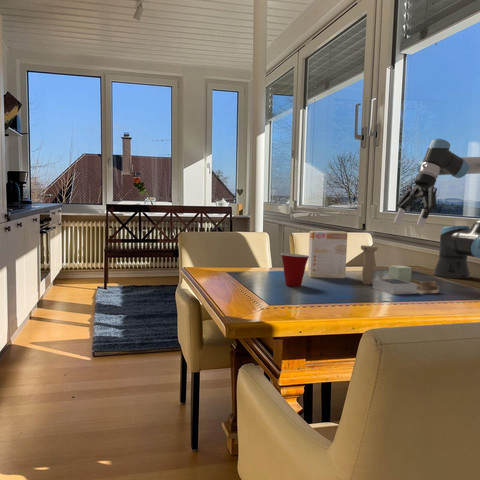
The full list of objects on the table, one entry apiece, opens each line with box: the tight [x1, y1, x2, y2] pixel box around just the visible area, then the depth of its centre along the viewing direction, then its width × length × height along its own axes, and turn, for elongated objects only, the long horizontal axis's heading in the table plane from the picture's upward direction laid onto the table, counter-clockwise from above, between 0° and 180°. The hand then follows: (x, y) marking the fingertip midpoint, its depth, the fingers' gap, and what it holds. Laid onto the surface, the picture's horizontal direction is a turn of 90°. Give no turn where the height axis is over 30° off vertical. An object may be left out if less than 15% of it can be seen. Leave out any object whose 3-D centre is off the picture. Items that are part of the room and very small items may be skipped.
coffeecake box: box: [307, 230, 348, 279], centre depth 191 cm, size 15×7×20 cm, turn 92°
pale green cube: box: [387, 265, 413, 282], centre depth 178 cm, size 6×6×6 cm
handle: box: [360, 245, 378, 285], centre depth 176 cm, size 5×6×15 cm
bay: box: [382, 276, 440, 294], centre depth 173 cm, size 8×22×4 cm, turn 19°
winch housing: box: [372, 278, 418, 296], centre depth 164 cm, size 10×12×4 cm
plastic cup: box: [280, 252, 310, 287], centre depth 168 cm, size 11×11×12 cm
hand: (407, 224), depth 180 cm, fingers open, 13 cm apart
